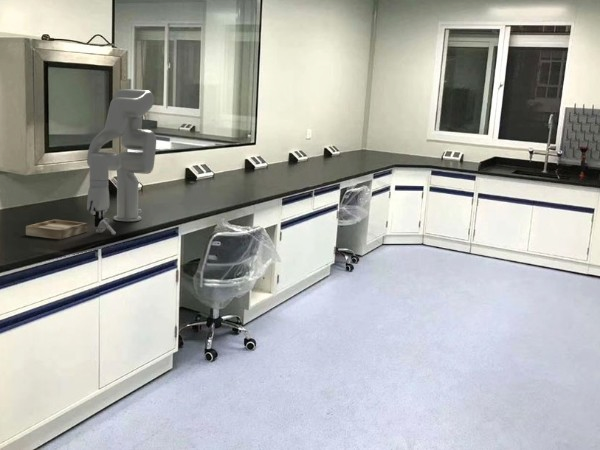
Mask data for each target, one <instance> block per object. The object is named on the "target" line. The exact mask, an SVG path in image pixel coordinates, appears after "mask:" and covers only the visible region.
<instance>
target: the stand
mask: <svg viewBox="0 0 600 450" xmlns="http://www.w3.org/2000/svg"><path fill="white" fill-rule="evenodd" d="M110 221H111V219H110V218H108V217H104V218H103V220H102V221H101V222H100V223H99V225H98V227H96V233H98V234H99V233H103V232H104V231H106V230H108V231H109V232H110V233H111V235H113V236H115V235H116V233H117V232H116V231H115V230H114V228H112V226H111V225H110Z"/></svg>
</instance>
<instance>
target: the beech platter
mask: <svg viewBox="0 0 600 450" xmlns="http://www.w3.org/2000/svg"><path fill="white" fill-rule="evenodd" d="M87 232H88V222H81V221H79V222H78V221H71V220H64V219H63V220H62V219H51V220H46V221H42V222H41V221H40V222H37V223H34V224H29V225H26V226H25V236H29V237H30V236H31V237H38V238H39V237H40V238H46V239H55V240H64V239H67V238H70V237H74V236H78V235H81V234H84V233H87Z"/></svg>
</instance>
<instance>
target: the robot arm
mask: <svg viewBox="0 0 600 450" xmlns="http://www.w3.org/2000/svg"><path fill="white" fill-rule="evenodd" d="M154 103H155V98H154V94H153V93H152V92H151V91H150V90H147V89H132V88H131V89H130V88H129V89H128V88H122V89H118V90H117V91H116V93H115V98H112V100H111V101H110V103H109V108H108V111H107V117H106V121H105V126H104V129H102V130H101V131H100V132H99V133H97V134H96V136H94V138H93V139H92V140H91V141H90V145H89V147H88V153H87V156H86V162H87V166H88V167H89V187H88V191H87V198H86V199H87V200H86V202H87V203H86V209H87V211H90V215H93V218H94V227H95V228H97V227H98V225H99V223H100V222H101V221H102V220H103V219H104V218H105V213H106V212H108V209H109V208H110V191H109V190H110V189H109V173H110V172H115V171H116V180H117V181H116V183H117V184H116V185H117V186H116V215H113V220H114V221H118V222H137V221H142V216H140V215H139V214H141V213H142V211H143V210H142V209H141V208H139V180H138V178H137V177H136V175H135V174H141V175H149V174H151V173H152V172H153V170H154V166H155V159H156V149H157V137H156V134H155V132H154V131H152V130H149V129H142V127H143V118H142V117H143V116H145V114H146V113H147V112H149V111H150V110H151V108H153V105H154ZM118 138H121V139H120V142H121V143H120V144H121V147H123V148H124V149H125V150H133V151H135V152H133V151H122V152H119V153H115V152H114V153H113V152H103V151H102V152H101V151H100V150H101V148H102V147H103V146H104V145H105V144H107V143H108V142H110V141H113V140H115V139H118ZM136 151H142V152H136ZM109 171H110V172H109Z"/></svg>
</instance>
